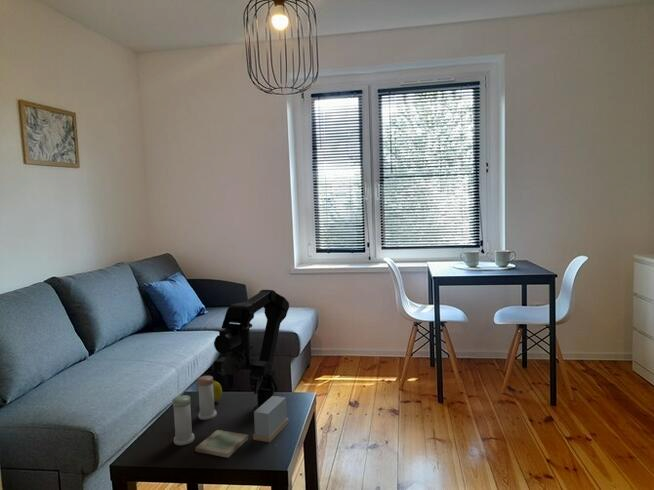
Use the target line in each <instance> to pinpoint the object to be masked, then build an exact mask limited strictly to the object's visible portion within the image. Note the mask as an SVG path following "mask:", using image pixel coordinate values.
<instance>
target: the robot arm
mask: <svg viewBox="0 0 654 490" xmlns="http://www.w3.org/2000/svg"><path fill="white" fill-rule="evenodd" d="M263 308H264V311H263V313H264V315H265V318H266V324H265V328H264V334H263V337H262V338H263V339H262V343H261V349H260V354H259V359H258V361H257V362H256V363H252V362H253V361H254V358H253V357H252V355H251V350H253V345H252V344H251V337H250V334H251V333H250V328H253V324H252V323H251V322H252V320H254V317H255V313H257V312H259V310H261V309H263ZM289 309H290V303H289V301H288V300H287V298H286V297H284V296H282V295H281V294H279V293H277V292H276V291H275V290H273V289H262V290H259V292H258V293H257V294H254V295H253V296H252V297H250V298H249V299H247V300H245V301H244V302H238V303H237V302H236V303H234V304H233V303H232V304H231V305H229V306H228V308H227V309H226V313H225V316H224V318H223V321H222V324H221V330H219V331H218V333H219V334H218V335H217V336H216V337H215V339H214V341H213V346H214V349H215V350H216V352H218V353H220V354H221V355H225V354H227V353H229V354H228V356H227V357H226V356H222V357H219V358H217V359H216V360H214V361H213V363H212V370H213V371H215V372H216V373H217V374H220V375H221V376H222V377H223V379H224V381H225V384H226V387H227V388H228V390H229V392H231V391H233V387H234V376H236V375H237V374H238V373H239V371H240V372H241V371H244V370H249V371H250V373H249V377H248V379H249V380H248V381H249V384H250V388H251V391H253V393H254V395H257V398H256V399H257V404H256V405H254V407H253V409H254V410H257V409H258V408H259V407H260V406H261V405H262V404H264V403H265V402H266V401H267V400H268V399H269V398H271V397H272V396H275V393H276V392H279V389H280V386H281V385H280V380H279V379H278V378H277V377H276V369H275V366H274V364H273V362H274V358H275V352H276V347H277V342H278V336H279V331H280V327H281V323H282V322H283V321H284V320H285V319H286V317H287V316H288V311H289Z"/></svg>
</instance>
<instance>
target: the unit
mask: <svg viewBox="0 0 654 490" xmlns="http://www.w3.org/2000/svg"><path fill="white" fill-rule="evenodd" d="M287 410H288V409H287V397H285V396H278V395H277V396H276V395H274V396H272V397H271V398H269V399H268V400H267V401H266V402H265V403H264V404H262V405H261V406H260V407H259V408H258V409H254V410H253V419H254V421H253V422H254V433H253V434H252V438H253V439H252V440H254V441H260V442H264V443H271V442H272V441H273V440H274V439H275V438H276V437H277V435H279V434H280V432H282V431H283V429H284V428H286V427H287V425H288V424H289V423H290V418H289V417H288V415H287V413H288V412H287Z"/></svg>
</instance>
